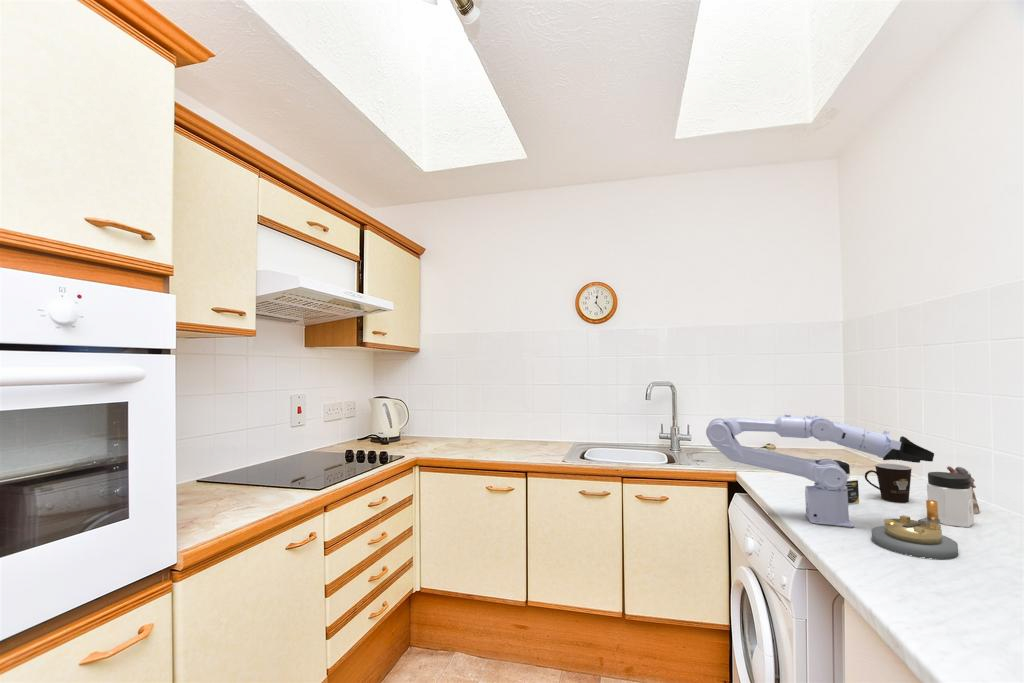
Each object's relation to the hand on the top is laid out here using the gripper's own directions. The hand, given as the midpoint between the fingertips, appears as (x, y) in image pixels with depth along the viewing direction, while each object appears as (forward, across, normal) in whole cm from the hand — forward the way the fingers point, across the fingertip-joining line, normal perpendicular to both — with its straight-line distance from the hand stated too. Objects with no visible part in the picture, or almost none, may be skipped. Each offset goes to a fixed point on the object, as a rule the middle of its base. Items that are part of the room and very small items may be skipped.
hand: (926, 458), depth 116 cm
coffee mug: (+3, +33, +10) cm, 35 cm away
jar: (+12, +15, +12) cm, 23 cm away
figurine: (+18, +27, +7) cm, 34 cm away
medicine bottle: (-10, +27, +16) cm, 33 cm away
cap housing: (-1, -7, +21) cm, 23 cm away
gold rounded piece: (-1, -7, +19) cm, 20 cm away
